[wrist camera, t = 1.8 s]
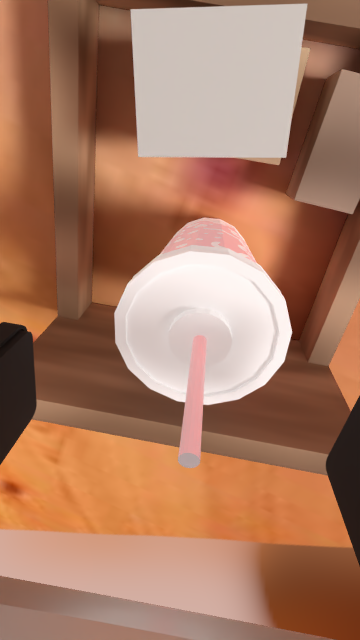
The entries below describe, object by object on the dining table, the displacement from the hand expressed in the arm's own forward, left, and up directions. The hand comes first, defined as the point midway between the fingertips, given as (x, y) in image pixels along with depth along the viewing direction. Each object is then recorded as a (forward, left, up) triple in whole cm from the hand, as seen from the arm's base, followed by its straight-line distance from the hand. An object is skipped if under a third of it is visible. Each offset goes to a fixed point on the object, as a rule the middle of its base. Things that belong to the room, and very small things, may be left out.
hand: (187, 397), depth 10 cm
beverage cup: (-1, 0, -12) cm, 12 cm away
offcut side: (-7, +5, -12) cm, 15 cm away
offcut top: (-8, -1, -9) cm, 12 cm away
